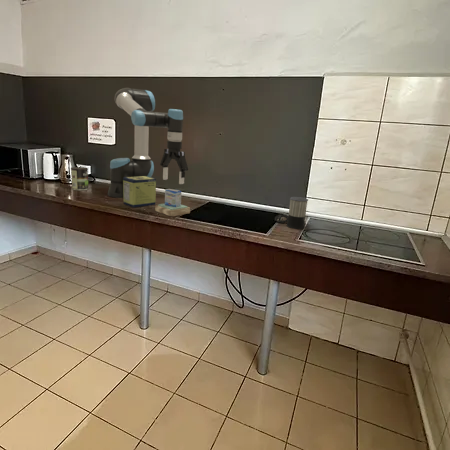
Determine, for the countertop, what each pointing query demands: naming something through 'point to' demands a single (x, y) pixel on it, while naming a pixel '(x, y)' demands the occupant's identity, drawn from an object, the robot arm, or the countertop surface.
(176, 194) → the medicine box
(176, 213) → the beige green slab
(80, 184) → the coffee can
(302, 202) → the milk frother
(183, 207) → the mat
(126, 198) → the protein box
